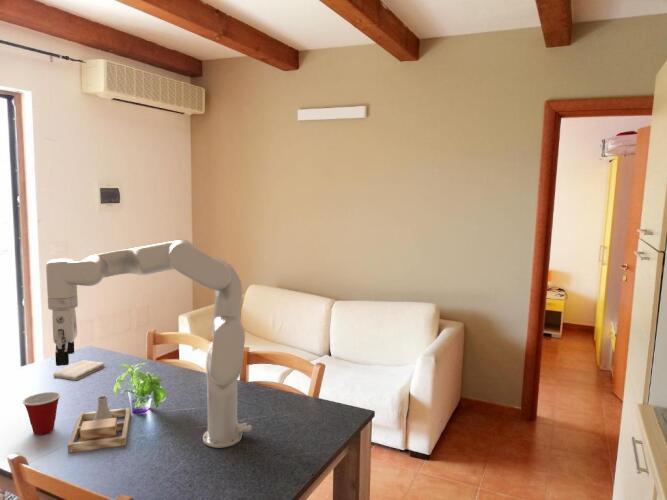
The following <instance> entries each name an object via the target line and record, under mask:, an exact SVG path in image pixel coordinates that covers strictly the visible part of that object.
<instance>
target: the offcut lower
mask: <svg viewBox="0 0 667 500" xmlns="http://www.w3.org/2000/svg"><path fill="white" fill-rule="evenodd" d="M113 437H118V431H117V428H116V435H110V436H103V437H95V438H88V439H81V438H80V442H81V441H89V440H97V439H105V438H113Z"/></svg>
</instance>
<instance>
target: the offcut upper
mask: <svg viewBox="0 0 667 500" xmlns="http://www.w3.org/2000/svg"><path fill="white" fill-rule="evenodd" d="M117 418H118V417H115V418H108V419H100V420H89V421H83V423H82V426H81V430H80V434H81V435H80V440H81V439H88V438H95V437H103V436H110V435H116V428H117V422H118V421H117V420H118V419H117Z"/></svg>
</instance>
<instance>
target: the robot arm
mask: <svg viewBox="0 0 667 500" xmlns="http://www.w3.org/2000/svg"><path fill="white" fill-rule="evenodd" d="M45 268H46V291H47V309H49V310H51V312H52V316H51V317H52V336H53V337H52V339H53V344H55V352H54V354H55V366H56V367H60V366H69V365H70V364H69V363H70V362H69V361H70V360H69V357H70V356H69V355H74V353H75V339H76V338H77V335H78V326H77V325H78V324H77V315H76V308H77V307H78V306H79V305H78V304H79V303H78V302H79V301H78V286H83V287H93V286H96V285H98V284H100V282H102V280H103V279H105V278H109V277H114V276H119V275H125V274H128V275H129V274H132V275H138V276H146V275H147V276H148V275H152V274H156V273H161V272H166V271H167V272H168V271H172V270H174V271H176V272H179V273H180V274H181V275H183V276H185V277H187V278H188V279H190V280H192V281H194V282H196V283H197V284H199V285H201V286H203V287H205V288H206V289H209V290H211V291H214V307H213V318H212V324H211V328H210V330H211V335H212V346H211V348H210V349H209V351H208V353H207V356H206V360H205V361H206V365H205V366H206V379H207V380H206V381H207V382H206V384H207V385H206V388H207V391H206V392H207V393H206V398H207V401H206V402H207V407H206V408H207V430H206V431H205V432H204V433H203V435H202V442H203V443H204V445H206V446H208V447H211V448H216V449H218V448H220V449H221V448H228V447H231V446H235V445H236V444H238V443H239V442H240V441H241V439H242V438H243V433H246V432H248V433H249V432H252V425H251V424H249V425H247V422H244V423H239V422H238V421H239V420H238V379H239V377H240V375H241V372H242V368H243V362H244V361H243V359H244V351H245V342H246V341H245V339H246V335H245V334H246V333H245V328H244V326H243V324H242V319H241V318H242V317H241V316H242V307H243V305H242V304H243V286H242V282H241V279H240V276H239V274H238V272H237V271H236V270H235V268H234V267H233V266H232V265H231V264H230V263H228V262H227V261H226V260H224V259H222V258H220V257H215V256H213V257H211V256H209V255H207V254H205V253H204V252H202V251H201V250H200V249H198V248H196V247H195V245H194V244H193V243H192V241H189V240H187V239H177V240H171V241H166V242H161V243H156V244H151V245H144V246H138V247H133V248H126V249H120V250H115V251H109V252H103V253H98V254H93V255H92V254H91V255H89V256H87V257H85V258H84V259H82V260H80V261H74V260H73V259H70V258H57V259H56V258H55V259H51V260H49V261H47V262H46V266H45Z"/></svg>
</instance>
